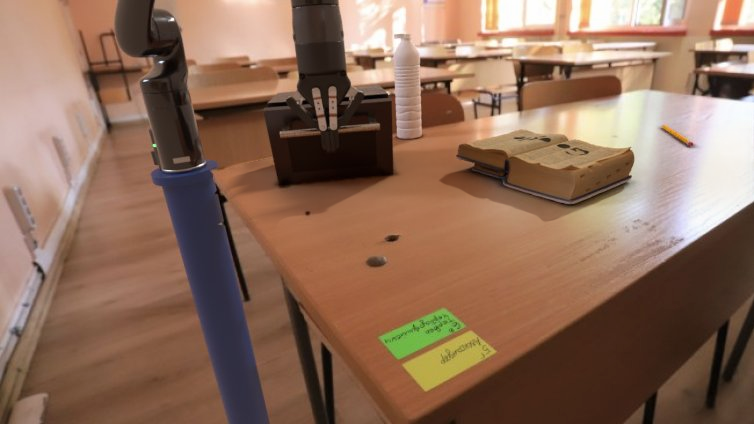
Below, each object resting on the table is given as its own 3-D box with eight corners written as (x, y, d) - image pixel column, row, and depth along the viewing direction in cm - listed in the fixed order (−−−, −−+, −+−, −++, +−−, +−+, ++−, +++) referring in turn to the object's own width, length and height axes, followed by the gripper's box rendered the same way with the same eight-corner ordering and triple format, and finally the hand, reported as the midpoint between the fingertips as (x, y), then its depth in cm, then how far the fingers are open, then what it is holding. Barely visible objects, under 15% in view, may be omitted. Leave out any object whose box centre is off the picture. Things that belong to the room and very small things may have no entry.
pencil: (688, 146, 84) (689, 142, 84) (659, 126, 101) (660, 123, 101) (693, 146, 84) (693, 142, 84) (663, 126, 101) (664, 123, 101)
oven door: (396, 185, 77) (395, 109, 68) (276, 196, 75) (260, 120, 67) (392, 170, 81) (390, 97, 73) (279, 180, 80) (264, 107, 72)
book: (632, 180, 68) (639, 145, 66) (570, 206, 60) (574, 167, 58) (512, 153, 88) (514, 125, 86) (453, 170, 80) (453, 139, 78)
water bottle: (402, 133, 114) (398, 34, 104) (425, 134, 111) (423, 32, 101) (390, 140, 106) (384, 35, 97) (414, 141, 104) (410, 33, 94)
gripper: (361, 37, 67) (369, 143, 73) (278, 43, 66) (293, 149, 73) (364, 36, 60) (372, 153, 67) (271, 43, 59) (289, 161, 66)
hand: (331, 151), depth 70 cm, fingers closed
